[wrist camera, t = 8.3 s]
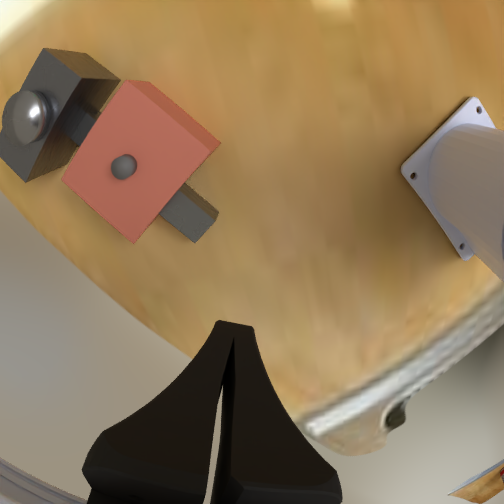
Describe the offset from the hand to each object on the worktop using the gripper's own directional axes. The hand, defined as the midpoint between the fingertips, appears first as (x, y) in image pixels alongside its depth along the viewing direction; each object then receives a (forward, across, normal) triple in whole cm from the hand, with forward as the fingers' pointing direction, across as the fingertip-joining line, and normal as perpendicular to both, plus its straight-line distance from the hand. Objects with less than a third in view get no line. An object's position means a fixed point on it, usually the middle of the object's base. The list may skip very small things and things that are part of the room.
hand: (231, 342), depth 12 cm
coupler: (+10, +9, -4) cm, 14 cm away
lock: (+10, +7, -4) cm, 13 cm away
